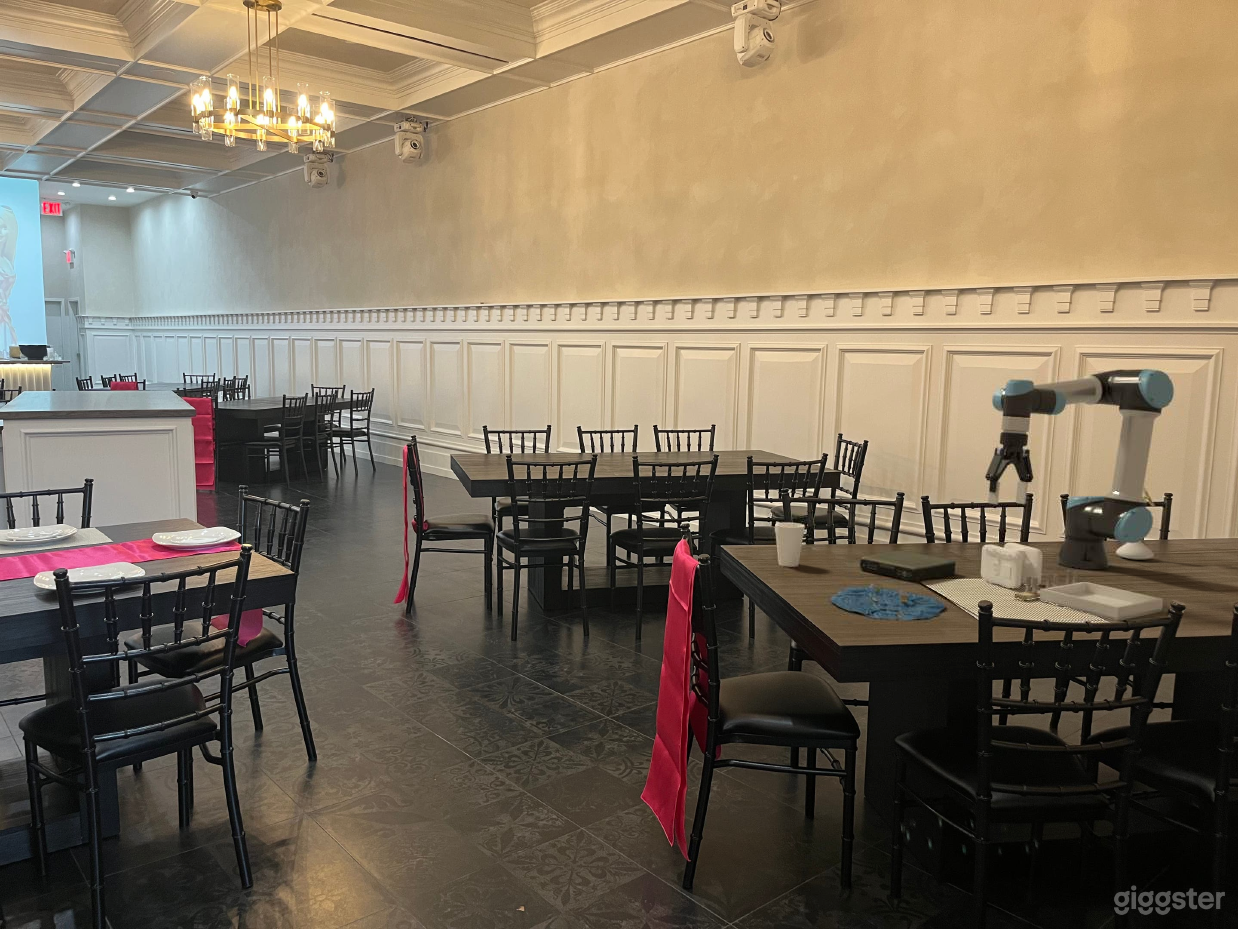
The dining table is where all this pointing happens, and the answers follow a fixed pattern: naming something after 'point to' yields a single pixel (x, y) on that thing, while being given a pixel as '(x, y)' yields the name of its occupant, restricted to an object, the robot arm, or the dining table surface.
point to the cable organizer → (1011, 564)
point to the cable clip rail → (1036, 593)
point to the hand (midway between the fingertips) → (1006, 503)
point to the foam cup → (789, 543)
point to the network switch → (908, 565)
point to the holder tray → (1102, 600)
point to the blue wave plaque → (887, 603)
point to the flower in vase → (1137, 543)
